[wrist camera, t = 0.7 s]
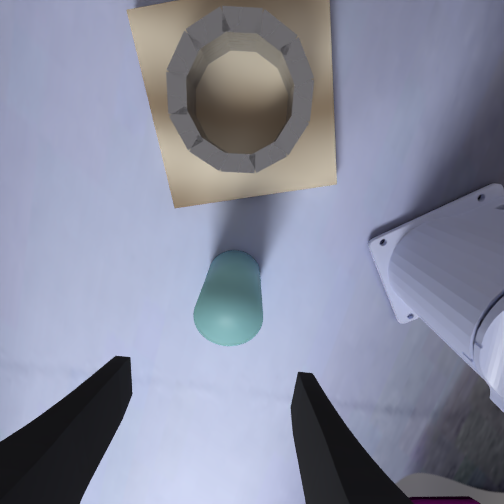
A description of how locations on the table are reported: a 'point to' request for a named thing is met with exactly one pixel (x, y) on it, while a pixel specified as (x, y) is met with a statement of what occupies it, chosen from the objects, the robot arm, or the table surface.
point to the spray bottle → (444, 500)
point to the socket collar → (216, 45)
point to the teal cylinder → (230, 300)
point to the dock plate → (239, 102)
